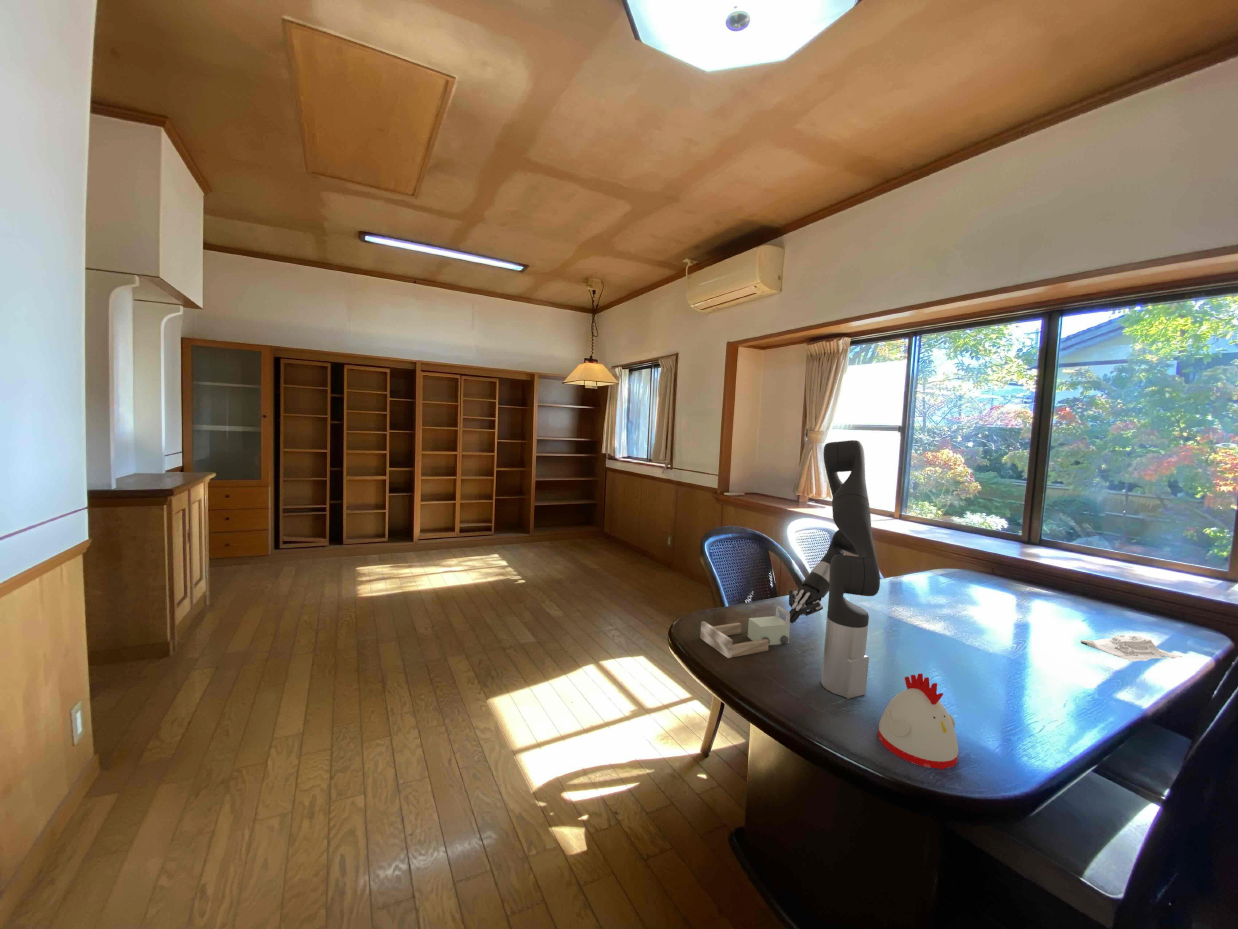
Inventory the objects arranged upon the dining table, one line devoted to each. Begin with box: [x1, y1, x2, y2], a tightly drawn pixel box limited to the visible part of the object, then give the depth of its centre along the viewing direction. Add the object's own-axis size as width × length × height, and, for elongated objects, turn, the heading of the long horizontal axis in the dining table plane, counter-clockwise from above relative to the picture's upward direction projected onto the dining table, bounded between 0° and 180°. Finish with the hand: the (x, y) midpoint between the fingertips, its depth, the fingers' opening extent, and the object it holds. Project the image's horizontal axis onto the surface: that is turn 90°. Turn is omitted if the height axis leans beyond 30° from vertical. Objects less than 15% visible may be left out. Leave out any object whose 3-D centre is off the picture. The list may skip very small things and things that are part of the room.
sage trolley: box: [747, 605, 791, 646], centre depth 147 cm, size 8×10×10 cm
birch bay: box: [699, 620, 770, 659], centre depth 143 cm, size 13×14×5 cm
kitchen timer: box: [877, 673, 959, 770], centre depth 99 cm, size 14×14×15 cm
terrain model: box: [1080, 634, 1182, 662], centre depth 154 cm, size 17×23×5 cm
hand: (789, 621), depth 152 cm, fingers closed
